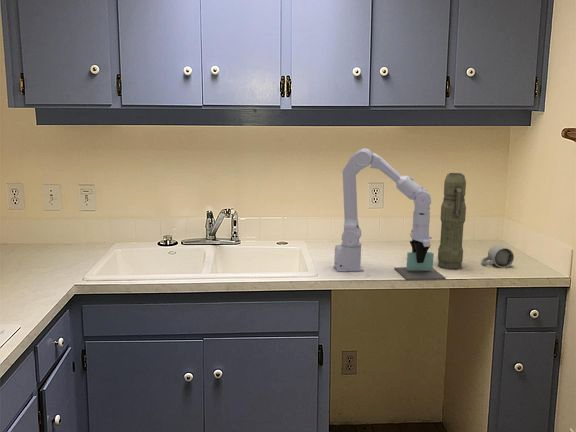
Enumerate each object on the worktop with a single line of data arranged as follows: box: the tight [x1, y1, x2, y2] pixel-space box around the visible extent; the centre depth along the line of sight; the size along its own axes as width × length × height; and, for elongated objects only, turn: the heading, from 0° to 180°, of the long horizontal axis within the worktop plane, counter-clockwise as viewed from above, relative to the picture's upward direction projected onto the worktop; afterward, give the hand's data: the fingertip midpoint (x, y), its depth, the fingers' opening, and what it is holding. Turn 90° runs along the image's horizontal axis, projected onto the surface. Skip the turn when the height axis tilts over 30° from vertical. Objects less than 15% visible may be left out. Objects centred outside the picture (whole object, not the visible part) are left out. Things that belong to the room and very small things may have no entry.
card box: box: [406, 251, 435, 270], centre depth 207 cm, size 9×2×6 cm, turn 97°
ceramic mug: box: [480, 244, 515, 269], centre depth 219 cm, size 11×8×8 cm
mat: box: [393, 266, 447, 281], centre depth 206 cm, size 14×14×1 cm
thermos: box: [437, 172, 467, 271], centre depth 214 cm, size 9×12×35 cm
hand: (419, 261), depth 207 cm, fingers closed on card box, 2 cm apart
